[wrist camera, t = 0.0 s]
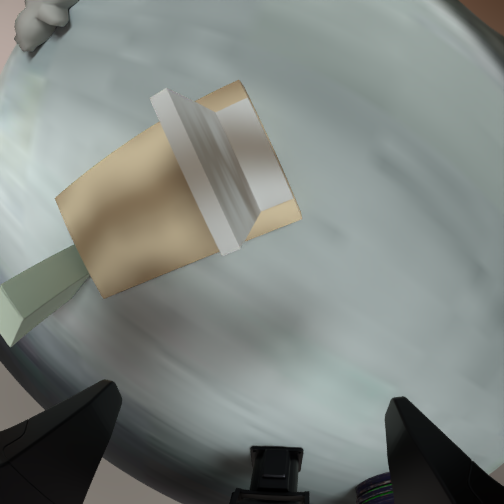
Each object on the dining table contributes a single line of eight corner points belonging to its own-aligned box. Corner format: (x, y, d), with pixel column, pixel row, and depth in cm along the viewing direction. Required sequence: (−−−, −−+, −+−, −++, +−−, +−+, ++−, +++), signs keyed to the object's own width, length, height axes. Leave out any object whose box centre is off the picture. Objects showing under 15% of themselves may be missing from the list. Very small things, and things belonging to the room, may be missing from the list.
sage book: (96, 267, 24) (24, 318, 15) (72, 298, 26) (10, 347, 17) (77, 242, 24) (1, 284, 14) (55, 276, 26) (-10, 319, 16)
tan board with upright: (301, 213, 20) (308, 263, 11) (114, 289, 25) (47, 348, 15) (243, 86, 18) (202, 32, 9) (68, 194, 22) (-15, 221, 13)
